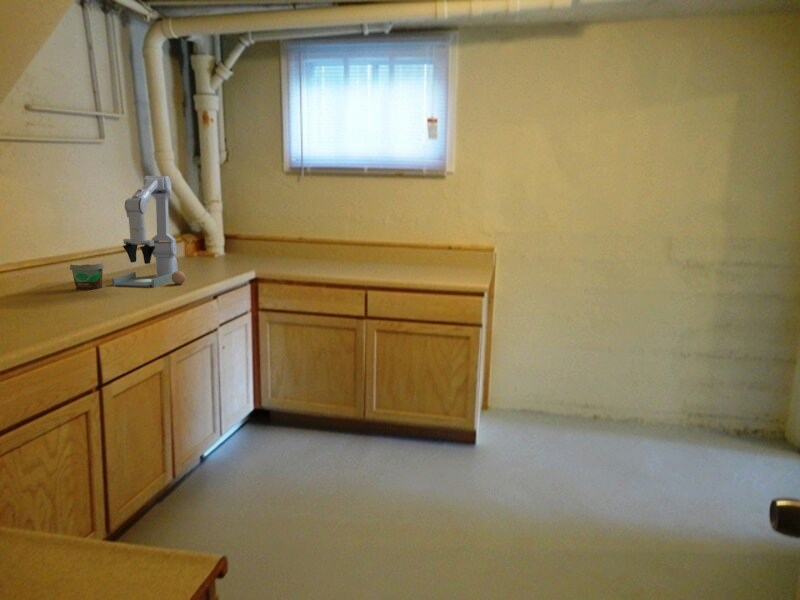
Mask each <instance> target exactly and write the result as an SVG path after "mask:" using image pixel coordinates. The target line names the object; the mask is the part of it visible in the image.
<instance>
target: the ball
mask: <svg viewBox="0 0 800 600" xmlns="http://www.w3.org/2000/svg"><path fill="white" fill-rule="evenodd" d="M185 281H186V274H185V273H184V272H183V271H180V270H178V271H176V272H174V273H173V274H172V281H171V282H172V283H174V284H175V285H181V284H183V283H185Z"/></svg>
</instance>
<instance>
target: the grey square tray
mask: <svg viewBox="0 0 800 600" xmlns="http://www.w3.org/2000/svg"><path fill="white" fill-rule="evenodd" d="M136 274H137V273H136V272H135V271H132V272H129V273H125V274H121V275H119V276H116V277H113V278H111V283H112V284H111V285H112V286H113V287H117V286H116V284H119V283H122V282H125V281H128V280H131V279H134V278H137V275H136ZM172 274H173V273H170V274H167V275H164V276H161V277H158V278H156V279H153V280H152V286H151V288H156V287H159V286H161V285H164V284H167V283H169V282H173V281H172Z"/></svg>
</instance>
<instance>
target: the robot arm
mask: <svg viewBox="0 0 800 600" xmlns="http://www.w3.org/2000/svg"><path fill="white" fill-rule="evenodd" d="M172 193H173V192H172V180H171V179H170V177H169V176H168V175H165V176H164V175H163V176H162V175H159V176H158V175H155V176H154V175H145V176H144V178H143V186H142V188H138V189H137V191H136V192H134V194H133V195H132V197H130V198H127V199H125V201H124V210H125V213H126V218H128V227H129V238H123V244H124V245H122V248H123V249H124V251H125V252H126V254H127V256H128V259H129V261H130V263H136V262H137V249H138V246H140V247H139V248H140V250H141V253H142V257H143V263H144V264H145V265H148V264H149V265H150V264H151V260H152V255H153V256H154V257H153V258H155V265H156V275H153V277H161V276H164V275H167V274H170V273H174V272H176V271H179V270H178V260H177V258H176V257H175V256H176V254H177V253H178V245H177V240H176V238H175V237H173V236H172V235H171V234H170V229H169V228H170V227H169V226H170V224H169V223H170V222H169V219H170V218H169V197H170V196H172ZM152 196H153V197H154V198H155V203H156V204H155V207H156V208H155V209H156V213H155V214H156V235H155V236H153V237H152V238H151V239H147V233H146V220H145V213H146V211H147V206H148V203H149V202H150V200H151V197H152Z"/></svg>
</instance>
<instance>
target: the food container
mask: <svg viewBox="0 0 800 600" xmlns="http://www.w3.org/2000/svg"><path fill="white" fill-rule="evenodd" d="M103 269H105V265H104V263H103V262H100V263H96V264H81V265H76V264H72V263H70V265H69V270H70V271H71V272H72V278H73V281H74V285H75V289H76V290H78V291H94V290H99V289H102V288H103V273H104V272H103Z"/></svg>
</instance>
